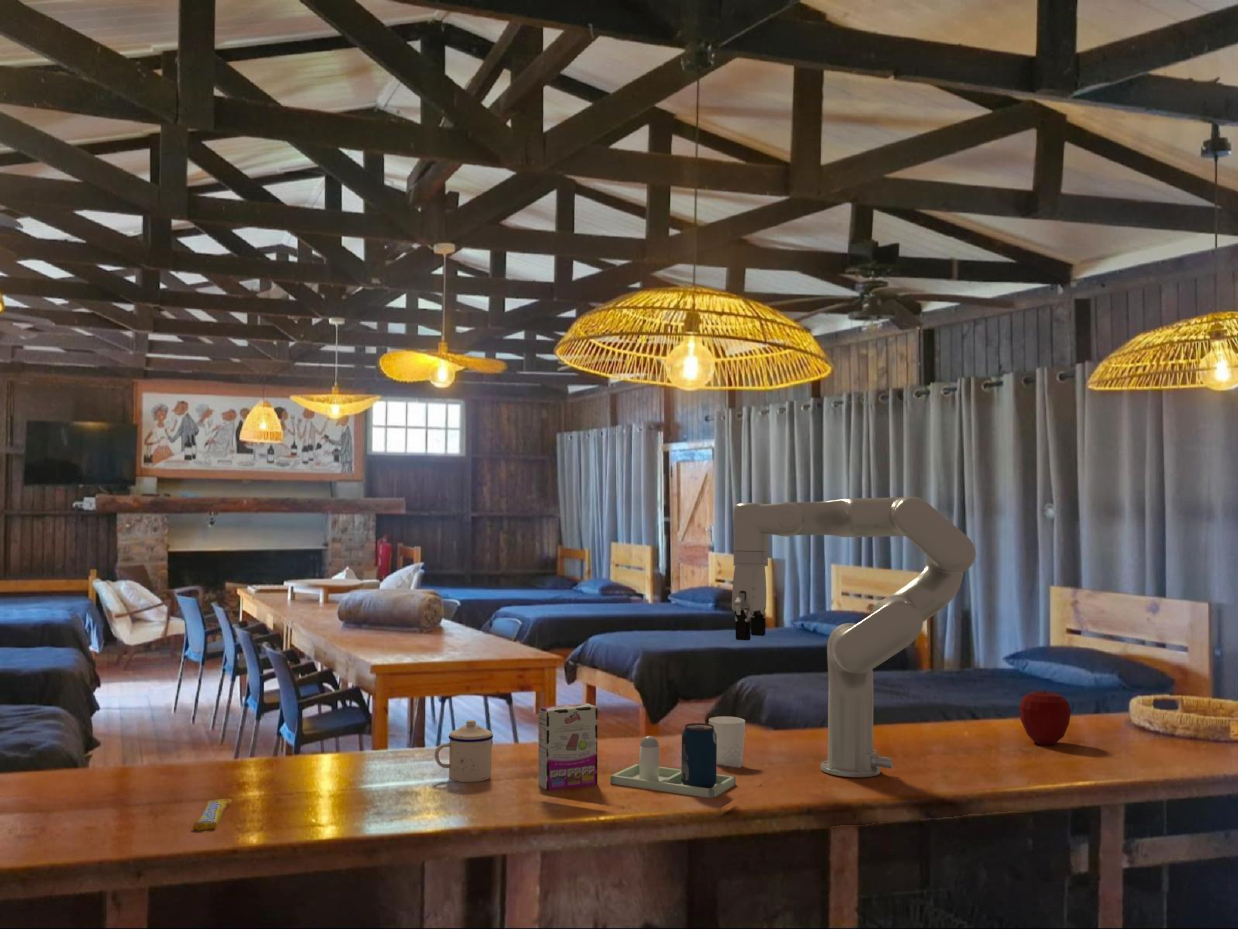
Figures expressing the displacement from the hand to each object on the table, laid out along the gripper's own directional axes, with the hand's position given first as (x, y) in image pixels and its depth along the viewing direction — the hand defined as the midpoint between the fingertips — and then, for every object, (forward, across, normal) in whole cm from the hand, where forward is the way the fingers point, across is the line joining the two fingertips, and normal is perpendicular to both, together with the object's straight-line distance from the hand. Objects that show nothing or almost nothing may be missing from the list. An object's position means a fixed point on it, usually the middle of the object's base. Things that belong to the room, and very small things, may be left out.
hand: (750, 637), depth 234 cm
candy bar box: (+28, +35, -26) cm, 52 cm away
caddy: (+28, +25, -8) cm, 38 cm away
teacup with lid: (+28, +38, -49) cm, 68 cm away
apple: (+29, -60, +55) cm, 86 cm away
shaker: (+27, +25, -13) cm, 39 cm away
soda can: (+27, +24, -2) cm, 37 cm away
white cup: (+28, +1, -5) cm, 29 cm away
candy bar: (+28, +83, -71) cm, 113 cm away
